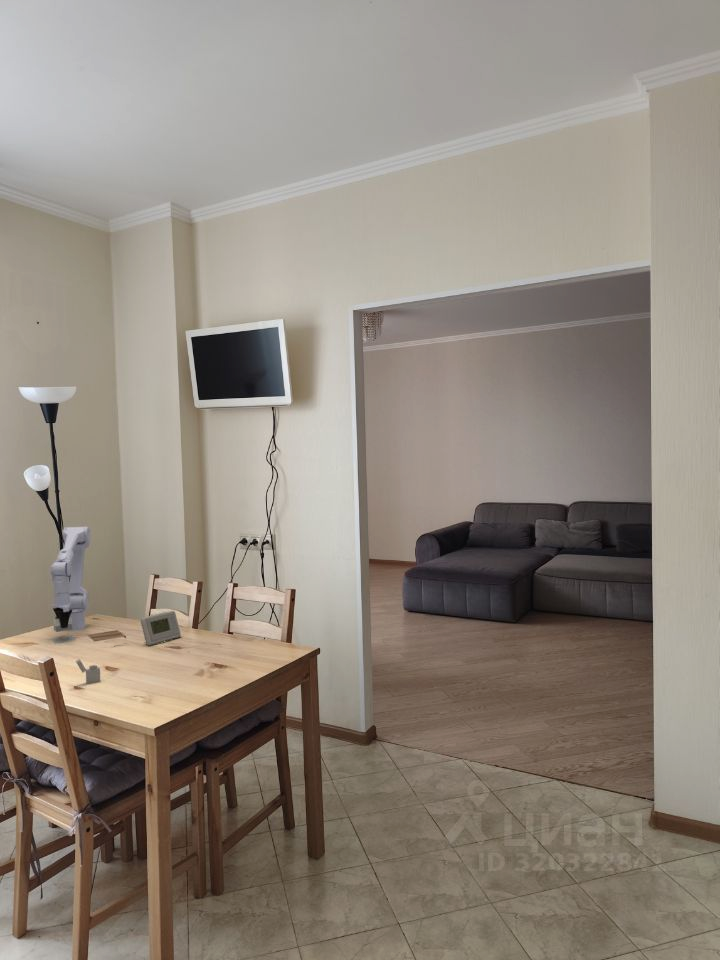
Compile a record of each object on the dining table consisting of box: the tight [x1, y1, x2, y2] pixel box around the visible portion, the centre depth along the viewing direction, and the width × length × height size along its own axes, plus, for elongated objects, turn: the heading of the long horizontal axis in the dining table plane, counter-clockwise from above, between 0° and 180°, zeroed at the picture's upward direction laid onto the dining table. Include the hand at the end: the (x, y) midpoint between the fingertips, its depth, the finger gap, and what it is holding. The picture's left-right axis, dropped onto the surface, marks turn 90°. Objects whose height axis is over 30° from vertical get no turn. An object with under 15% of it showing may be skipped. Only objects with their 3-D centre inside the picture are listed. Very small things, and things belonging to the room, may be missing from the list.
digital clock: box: [140, 610, 181, 646], centre depth 271 cm, size 16×9×11 cm, turn 132°
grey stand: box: [50, 635, 77, 644], centre depth 270 cm, size 8×8×2 cm
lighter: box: [75, 658, 101, 684], centre depth 222 cm, size 7×2×8 cm, turn 121°
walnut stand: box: [87, 630, 127, 642], centre depth 275 cm, size 12×12×2 cm
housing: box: [52, 616, 72, 633], centre depth 270 cm, size 4×6×5 cm, turn 125°
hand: (63, 626), depth 270 cm, fingers closed on housing, 4 cm apart
